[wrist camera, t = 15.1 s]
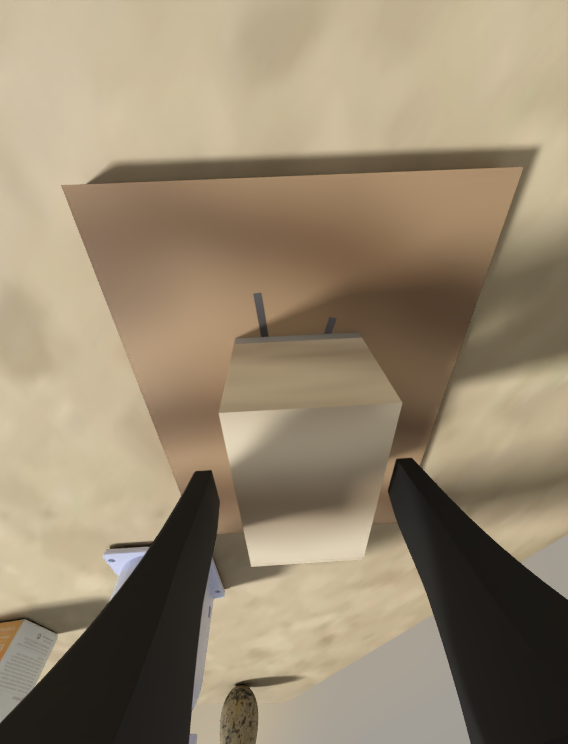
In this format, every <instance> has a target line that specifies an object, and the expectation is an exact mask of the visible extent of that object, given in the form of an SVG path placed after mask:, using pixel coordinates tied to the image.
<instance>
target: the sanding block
mask: <svg viewBox="0 0 568 744" xmlns="http://www.w3.org/2000/svg"><path fill="white" fill-rule="evenodd" d="M401 407H402V401H401V400H400V398H399V396H398V395H397V393H396V391H395V390H394V388H393V387H392V385H391V383H390V382H389V380H388V379H387V377H386V375H385V374H384V372H383V371H382V369H381V367H380V366H379V364H378V363H377V361H376V359H375V358H374V356H373V354H372V353H371V351H370V350H369V348H368V346H367V345H366V343H365V342H364V340H363V338H362V337H361V335H360V334H359V332H351V333H332V334H312V335H293V336H273V337H254V338H235V341H234V346H233V350H232V355H231V359H230V364H229V368H228V373H227V377H226V382H225V386H224V391H223V395H222V400H221V404H220V409H219V417H220V422H221V427H222V432H223V436H224V441H225V446H226V450H227V455H228V460H229V465H230V469H231V474H232V479H233V483H234V488H235V493H236V497H237V502H238V507H239V512H240V516H241V521H242V526H243V530H244V535H245V540H246V544H247V549H248V554H249V559H250V563H251V567H256V566H271V565H286V564H301V563H316V562H331V561H346V560H361V559H364V555H365V551H366V547H367V543H368V539H369V535H370V531H371V527H372V523H373V519H374V515H375V511H376V507H377V503H378V499H379V495H380V491H381V487H382V483H383V479H384V475H385V471H386V467H387V463H388V459H389V455H390V451H391V447H392V443H393V439H394V435H395V431H396V427H397V423H398V419H399V415H400V411H401Z"/></svg>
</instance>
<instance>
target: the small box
mask: <svg viewBox="0 0 568 744" xmlns="http://www.w3.org/2000/svg"><path fill="white" fill-rule="evenodd" d="M57 638H58V634H56V633H54V632H52V631H49V630H47V629H45V628H43V627H41V626H39V625H37V624H35V623H32V622H30V621H28V620H26V619H23V620H18V621H12V622H3V623H0V722H1V721H2V720H3V719H4V718H5V717H6V716H7V715H8V714H9V713H10V712H11V711H12V710H13V709H14V708H15V707H16V706H17V705H18V704H19V703H20V702H21V701H22V700H23V699H24V698H25V697H26V695H27V694H28V693H29V692H30V691H31V690H32V689H33V688H34V687H35V685H36V682H37V680H38V678H39V676H40V674H41V672H42V670H43V668H44V666H45V663H46V661H47V659H48V657H49V655H50V653H51V651H52V649H53V647H54V645H55V642H56V640H57Z"/></svg>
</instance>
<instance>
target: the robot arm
mask: <svg viewBox="0 0 568 744" xmlns="http://www.w3.org/2000/svg"><path fill="white" fill-rule="evenodd" d="M388 494H389V498H390V501H391V505H392V508H393V511H394V514H395V518H396V520H397V523H398V525H399V528H400V530H401V532H402V535H403V537H404V540H405V542H406V544H407V547H408V549H409V552H410V554H411V556H412V559H413V561H414V563H415V566H416V568H417V571H418V573H419V575H420V578H421V580H422V583H423V585H424V588H425V591H426V593H427V596H428V599H429V602H430V605H431V608H432V611H433V614H434V617H435V620H436V623H437V627H438V630H439V633H440V636H441V639H442V642H443V646H444V649H445V652H446V655H447V659H448V662H449V666H450V669H451V673H452V676H453V680H454V683H455V687H456V690H457V694H458V697H459V700H460V704H461V708H462V712H463V716H464V719H465V723H466V727H467V731H468V734H469V738H470V742H471V744H568V600H567V599H566V598H565V597H563V596H562V595H560V594H559V593H558V592H557V591H555V590H554V589H553V588H551V587H550V586H549V585H547V584H546V583H545V582H543V581H542V580H541V579H540V578H538V577H537V576H536V575H534V574H533V573H532V572H531V571H530V570H528V569H527V568H526V567H525V566H523V565H522V564H521V563H520V562H519V561H517V560H516V559H515V558H514V557H513V556H511V555H510V554H509V553H508V552H507V551H506V550H504V549H503V548H502V547H501V546H500V545H499V544H498V543H496V542H495V541H494V540H493V539H492V538H491V537H490V536H489V535H488V534H486V533H485V532H484V531H483V530H482V529H481V528H480V527H479V526H478V525H477V524H476V523H475V522H474V521H473V520H472V519H471V518H469V517H468V516H467V515H466V514H465V513H464V512H463V511H462V510H461V509H460V508H459V507H458V506H457V505H456V504H455V503H454V502H453V501H452V500H451V499H450V498H449V497H448V496H447V495H446V494H445V492H444V491H443V490H442V489H441V488H440V487H439V486H438V485H437V484H436V483H435V482H434V481H433V480H432V479H431V478H430V477H429V476H428V474H427V473H426V472H425V471H424V470H423V469H422V468H421V467H420V466H419V465H418V464H417V463H416V461H415V460H414V459H413V458H399V459H396V461H395V465H394V469H393V473H392V476H391V480H390V484H389V487H388ZM219 508H220V499H219V496H218V492H217V488H216V484H215V481H214V477H213V473H212V470H205V471H195V472H194V473H193V475H192V477H191V479H190V481H189V483H188V485H187V487H186V489H185V490H184V492H183V494H182V496H181V498H180V499H179V501H178V503H177V505H176V506H175V508H174V510H173V511H172V513H171V515H170V516H169V518H168V520H167V521H166V523H165V524H164V526H163V528H162V529H161V531H160V532H159V534H158V535H157V537H156V538H155V540H154V541H153V543H152V544H151V546H150V547H134V548H119V549H107V550H106V551H105V552H104V554H103V558H104V559H105V561H106V562H107V563H108V564H109V566H110V567H111V568H112V569H113V571H114V572H115V573H116V574H117V576H118V580H117V582H116V585H115V587H114V590H113V593H112V595H111V598H110V600H109V603H108V604H107V605H106V607H105V608H104V609H103V610H102V611H101V613H100V614H99V615H98V616H97V618H96V619H95V620H94V621H93V622H92V624H91V625H90V626H89V627H88V628H87V630H86V631H85V632H84V633H83V634H82V635H81V636H80V638H79V639H78V640H77V641H76V642H75V643H74V644H73V645H72V647H71V648H70V649H69V650H68V651H67V652H66V653H65V654H64V656H63V657H62V658H61V659H60V660H59V661H58V662H57V663H56V665H55V666H54V667H53V668H52V669H51V670H50V671H49V672H48V673H47V674H46V676H45V677H44V678H43V679H42V680H41V681H40V682H39V683H38V684H37V685H36V686H35V687H34V688H33V689H32V690H31V691H30V692H29V693H28V694H27V695H26V697H25V698H24V699H23V700H22V701H21V702H20V703H19V704H18V705H17V706H16V707H15V708H14V709H13V710H12V711H11V712H10V713H9V714H8V715H7V716H6V717H5V718H4V719H3V720H2V721H1V722H0V744H196V742H197V734H190V722H191V712H192V710H193V708H194V706H195V704H196V701H197V699H198V696H199V693H200V690H201V686H202V681H203V674H204V667H205V659H206V652H207V644H208V637H209V629H210V622H211V615H212V607H213V600H214V599H215V598H223V597H224V595H225V590H224V588H223V585H222V582H221V579H220V577H219V574H218V571H217V568H216V565H215V563H214V560H213V557H212V556H213V551H214V545H215V540H216V535H217V530H218V519H219Z"/></svg>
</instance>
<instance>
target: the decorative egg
mask: <svg viewBox="0 0 568 744" xmlns="http://www.w3.org/2000/svg"><path fill="white" fill-rule="evenodd" d="M257 730H258V707H257V702H256V698H255V696H254V694H253V692H252V690H251V689H250V688H249V687H247V686H245V685H238V686H236V687H235V688H233V689H232V690H231V691H230V693H229V694H228V696H227V698H226V700H225V702H224V705H223V709H222V714H221V720H220V744H255V743H256V737H257Z"/></svg>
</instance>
